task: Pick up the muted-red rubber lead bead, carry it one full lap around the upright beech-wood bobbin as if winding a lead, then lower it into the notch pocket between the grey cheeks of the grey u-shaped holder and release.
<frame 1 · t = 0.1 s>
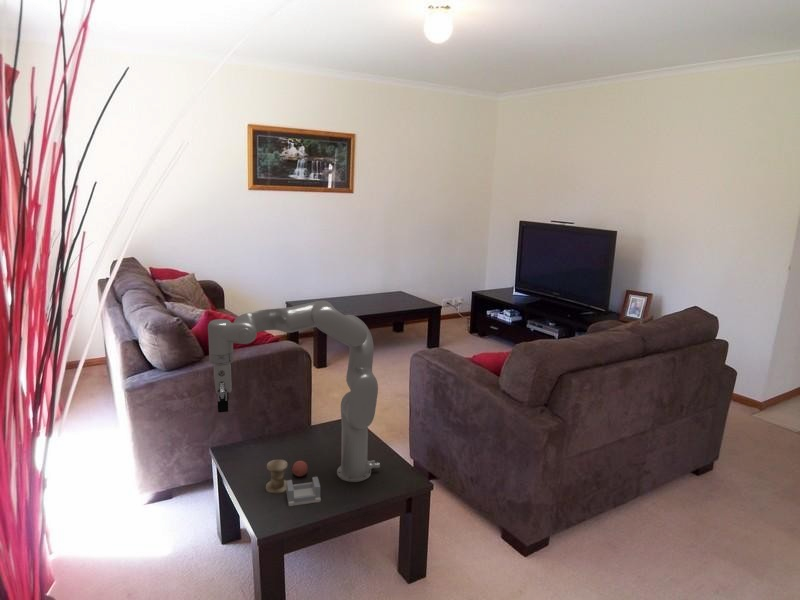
hand: (223, 405, 181), 31 cm above the table, fingers open, 9 cm apart
grey u-shaped holder: (303, 496, 184), on the table
bobbin: (277, 487, 190), on the table
bead: (300, 475, 198), on the table
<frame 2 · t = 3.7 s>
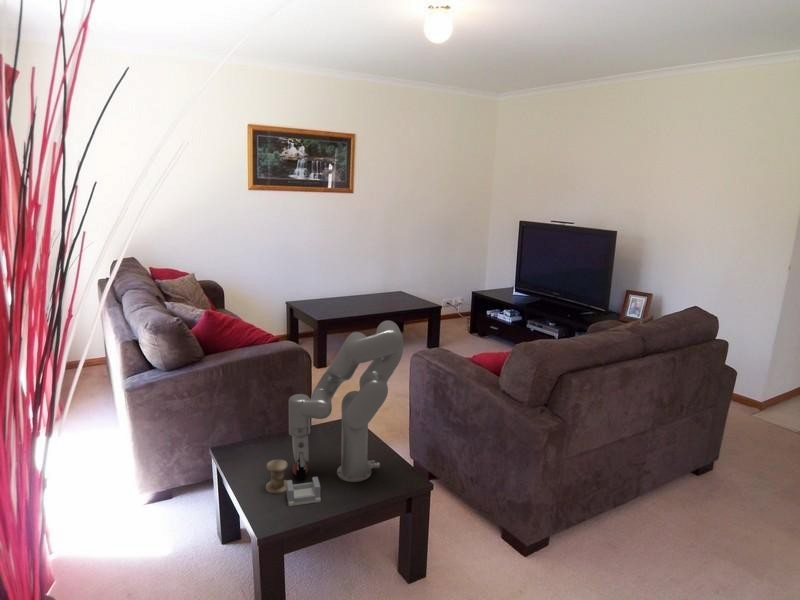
hand: (300, 474, 197), 0 cm above the table, fingers closed on bead, 5 cm apart
bead: (300, 475, 198), on the table, touching gripper
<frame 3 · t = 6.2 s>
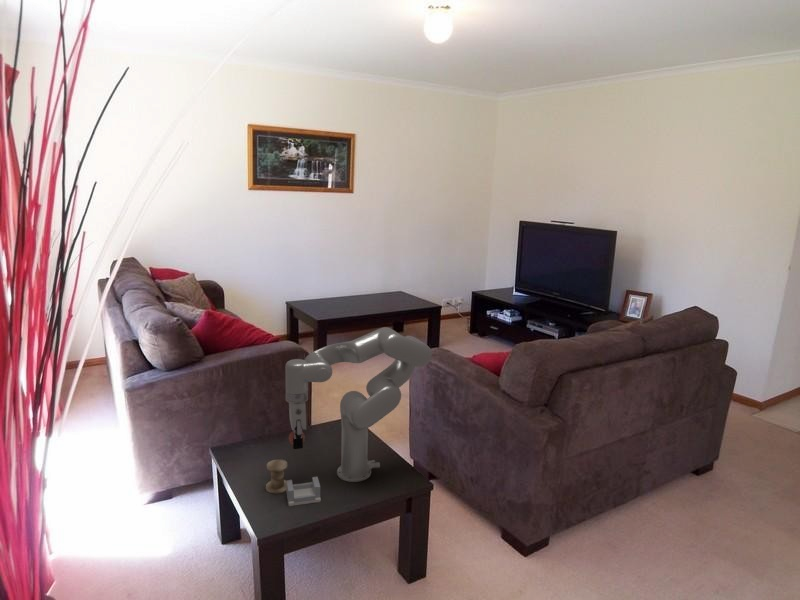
hand: (296, 443, 189), 16 cm above the table, fingers closed on bead, 5 cm apart
bead: (296, 445, 189), point 15 cm above the table, touching gripper
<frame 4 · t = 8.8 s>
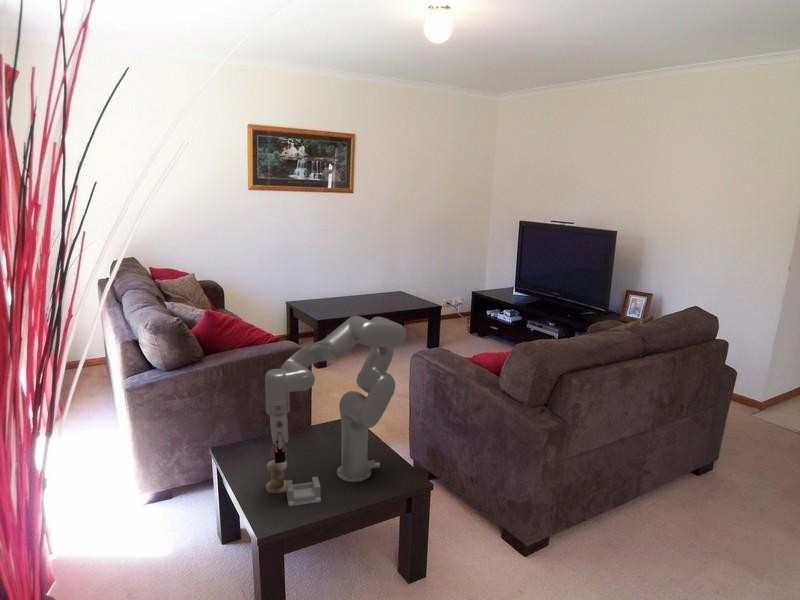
hand: (279, 457, 180), 15 cm above the table, fingers closed on bead, 5 cm apart
bead: (279, 458, 180), point 15 cm above the table, touching gripper
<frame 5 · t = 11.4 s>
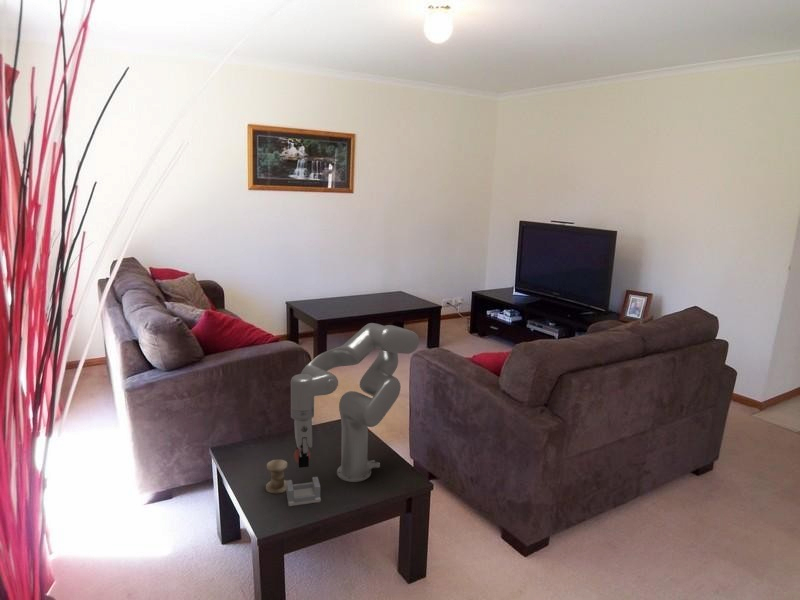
hand: (302, 461, 181), 13 cm above the table, fingers closed on bead, 5 cm apart
bead: (302, 462, 181), point 13 cm above the table, touching gripper
when the fingers open (4 cm above the table, at t = 13.8 s): bead drops 2 cm, resting on grey u-shaped holder.
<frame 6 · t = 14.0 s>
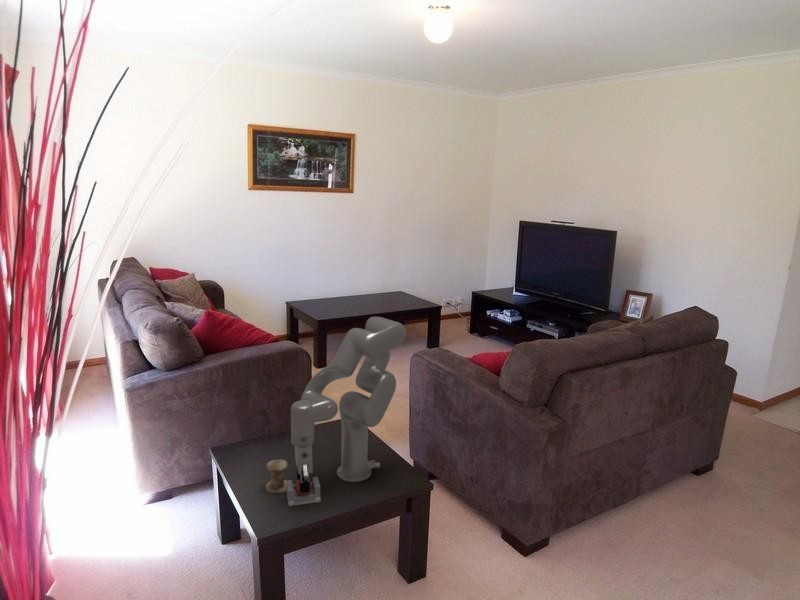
hand: (303, 485, 183), 4 cm above the table, fingers open, 7 cm apart
bead: (303, 494, 184), point 1 cm above the table, touching grey u-shaped holder
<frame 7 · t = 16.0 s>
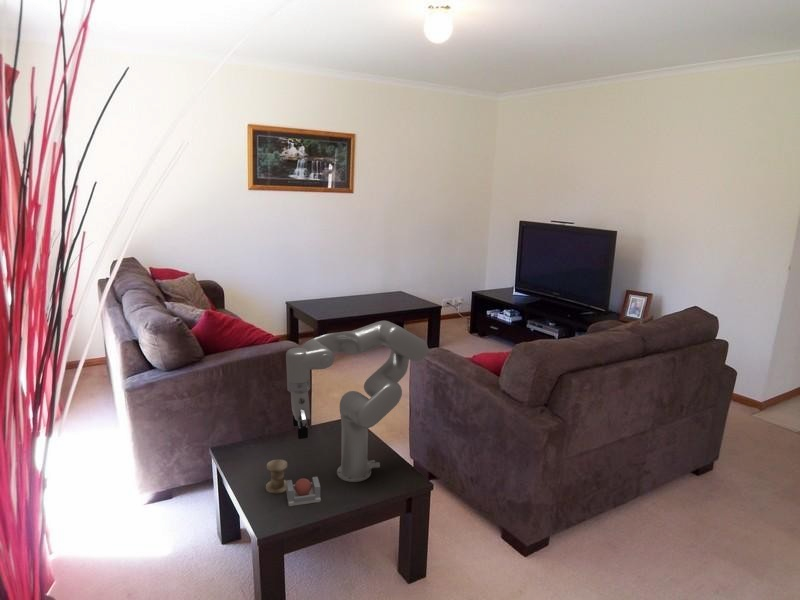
hand: (300, 431, 184), 22 cm above the table, fingers open, 9 cm apart
nothing on the table moved.
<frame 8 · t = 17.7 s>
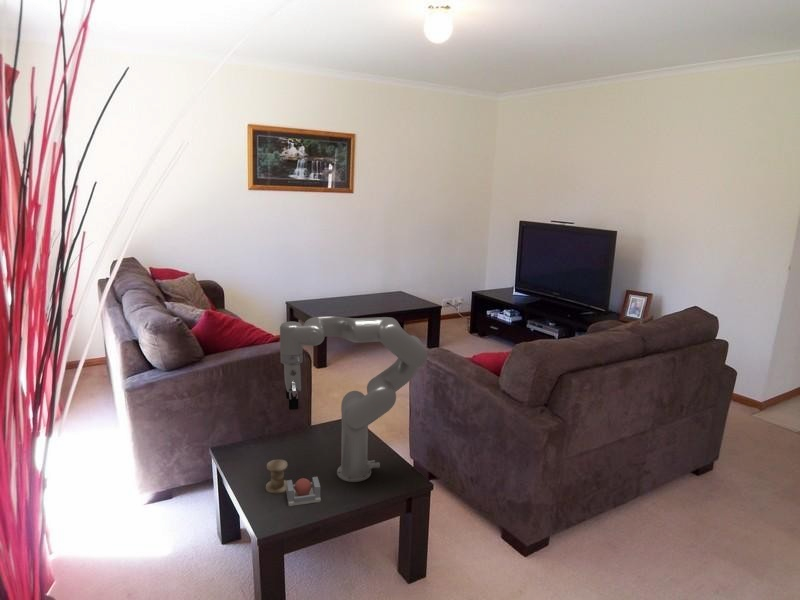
hand: (292, 403, 191), 28 cm above the table, fingers open, 9 cm apart
nothing on the table moved.
at the end: bead 0.1 cm off-centre on the grey u-shaped holder, point 1.0 cm above the grey u-shaped holder's base; the gripper is holding nothing; bead touching grey u-shaped holder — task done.
